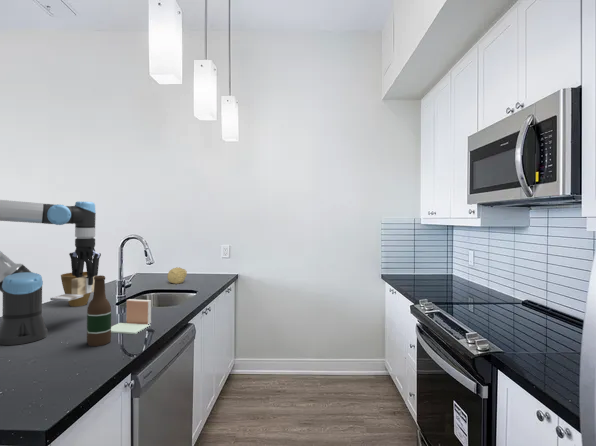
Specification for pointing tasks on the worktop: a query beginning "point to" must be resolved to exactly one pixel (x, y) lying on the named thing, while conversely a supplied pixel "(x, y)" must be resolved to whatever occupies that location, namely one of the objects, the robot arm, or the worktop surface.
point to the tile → (138, 311)
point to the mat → (128, 328)
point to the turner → (75, 290)
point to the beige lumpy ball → (177, 275)
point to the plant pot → (68, 290)
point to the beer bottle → (99, 315)
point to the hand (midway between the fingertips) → (84, 292)
